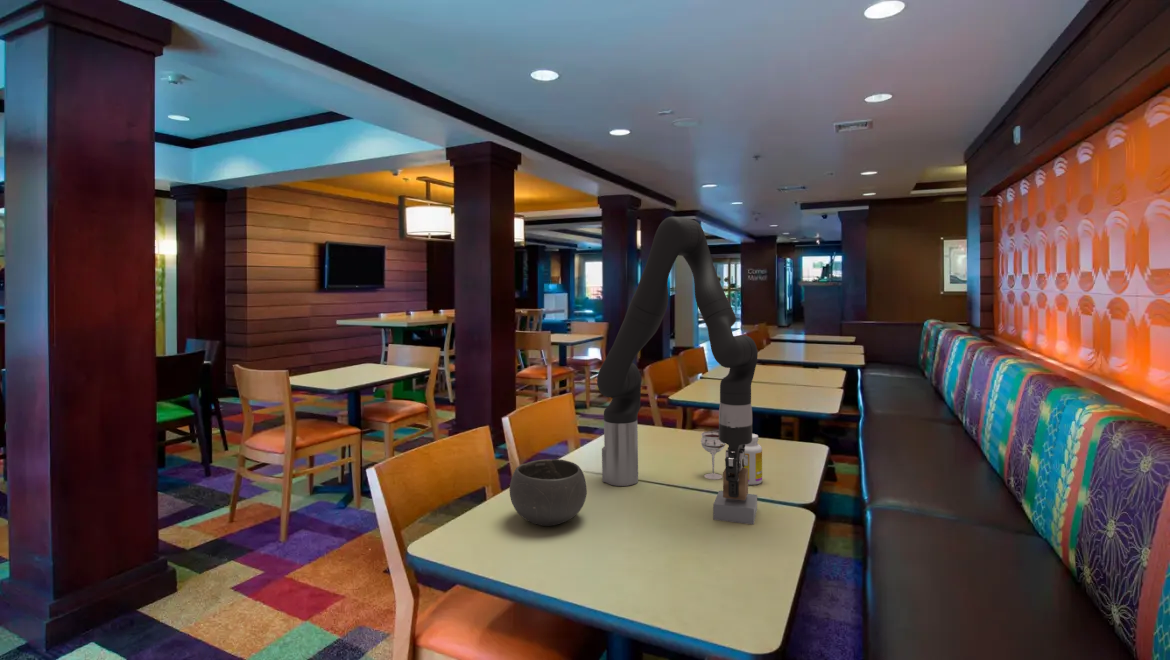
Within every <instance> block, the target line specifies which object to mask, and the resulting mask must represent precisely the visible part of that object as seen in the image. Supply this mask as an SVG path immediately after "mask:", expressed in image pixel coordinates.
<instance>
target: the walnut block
mask: <svg viewBox="0 0 1170 660" xmlns="http://www.w3.org/2000/svg"><path fill="white" fill-rule="evenodd" d="M737 468H738V467H737ZM730 476H735V474H734V473H730ZM722 491H723V498H731V499H739V500H745V499H746V497H747V494H749V485H748V468H742V471H741V472H739V495H738V497H737V498H735V497H730V496H729V481H726V467H725V468H724V470H723V472H722Z"/></svg>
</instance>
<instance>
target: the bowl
mask: <svg viewBox="0 0 1170 660" xmlns="http://www.w3.org/2000/svg"><path fill="white" fill-rule="evenodd" d="M509 483H510V484H509V497H510V501H511V505H512V506H513V508H514V510H515V511H516V512H517V514H518V515H520V516H521V518H523V519H524V520H526V521H528V522H529V523H532V524H535V525H538V526H544V527H545V526H546V527H547V526H548V527H549V526H556V525H560V524H563V523H565V522H567V521H569V520H571V519H572V518H574V517H576V515H578V513H579V512H580V511H581V510H582V508H583V507H584V505H585V502H586V498H587V494H588V490H587V489H588V488H587V487H588V486H587V483H586V477H585V475H584V472H583V470H582V468H581V467H580V466H579V465H578V464H576V463H575V462H573V461H568V460H566V459H559V458H558V459H557V458H554V459H553V458H552V459H549V458H548V459H538V460H537V459H536V460H533V461H528V462H526V463H520V464H519V465H518V466H517V467H516V468H515V470H514V472H513V474H512V477H511V479H510V482H509Z"/></svg>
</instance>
